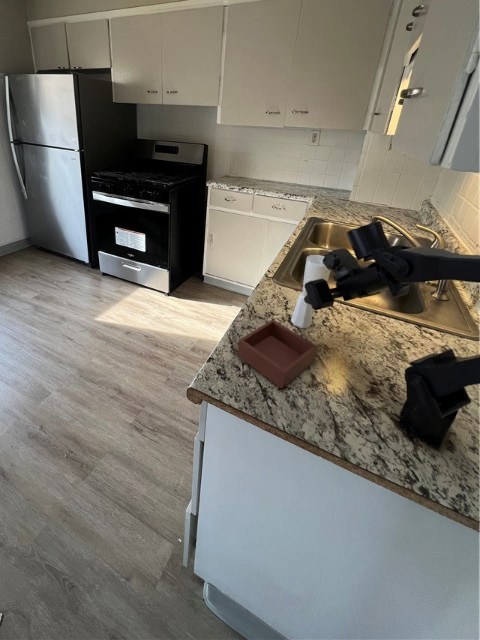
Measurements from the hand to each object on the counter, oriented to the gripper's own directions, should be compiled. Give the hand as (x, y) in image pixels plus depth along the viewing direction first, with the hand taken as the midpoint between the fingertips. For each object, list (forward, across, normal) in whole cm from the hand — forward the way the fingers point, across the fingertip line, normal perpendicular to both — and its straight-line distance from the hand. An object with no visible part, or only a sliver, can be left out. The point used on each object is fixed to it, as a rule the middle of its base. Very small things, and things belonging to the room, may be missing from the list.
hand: (319, 296), depth 78 cm
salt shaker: (+10, 0, +5) cm, 12 cm away
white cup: (+20, -17, -5) cm, 27 cm away
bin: (+4, +15, +11) cm, 19 cm away
